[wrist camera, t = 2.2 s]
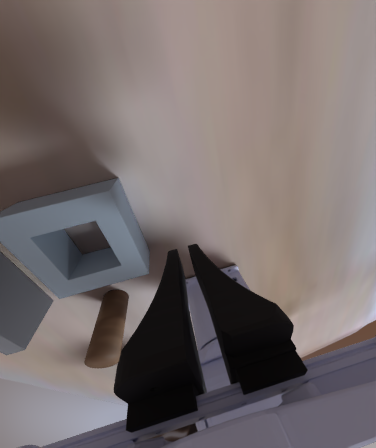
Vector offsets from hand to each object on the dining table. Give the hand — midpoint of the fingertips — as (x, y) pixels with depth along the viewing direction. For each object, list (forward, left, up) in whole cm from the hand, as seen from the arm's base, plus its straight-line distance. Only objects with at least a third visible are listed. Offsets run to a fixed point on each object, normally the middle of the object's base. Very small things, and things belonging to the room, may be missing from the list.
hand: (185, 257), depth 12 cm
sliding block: (+10, 0, -8) cm, 13 cm away
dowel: (+12, +12, -8) cm, 19 cm away
